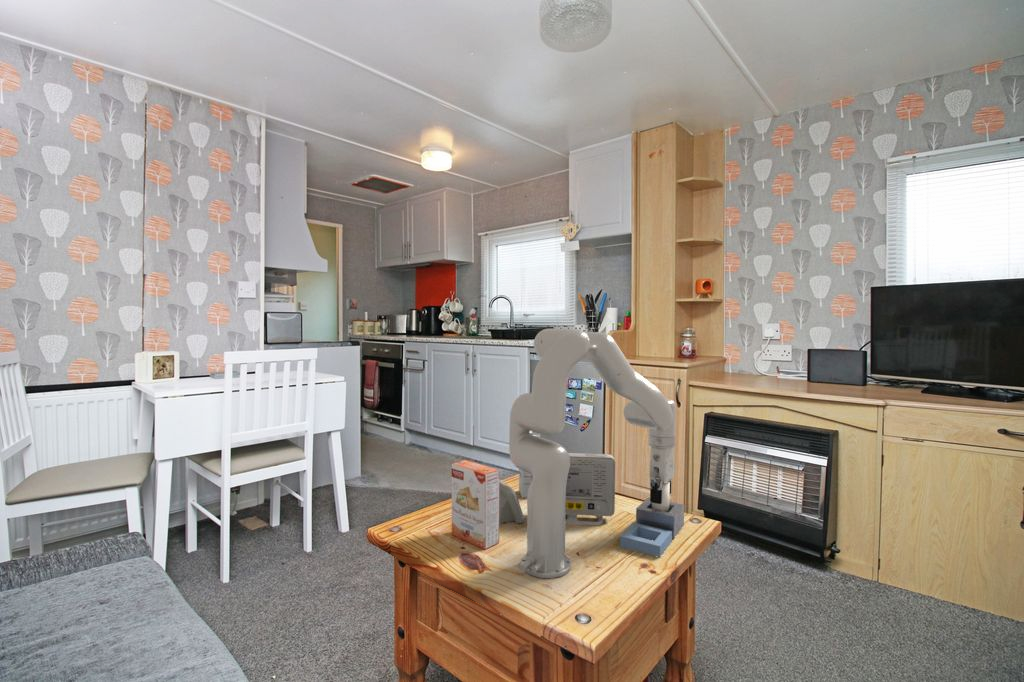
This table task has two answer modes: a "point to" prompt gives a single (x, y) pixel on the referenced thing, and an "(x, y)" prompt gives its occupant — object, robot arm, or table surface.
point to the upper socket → (661, 517)
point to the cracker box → (475, 503)
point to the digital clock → (509, 505)
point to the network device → (590, 487)
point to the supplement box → (524, 483)
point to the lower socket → (646, 539)
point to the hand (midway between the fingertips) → (660, 497)
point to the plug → (663, 498)
